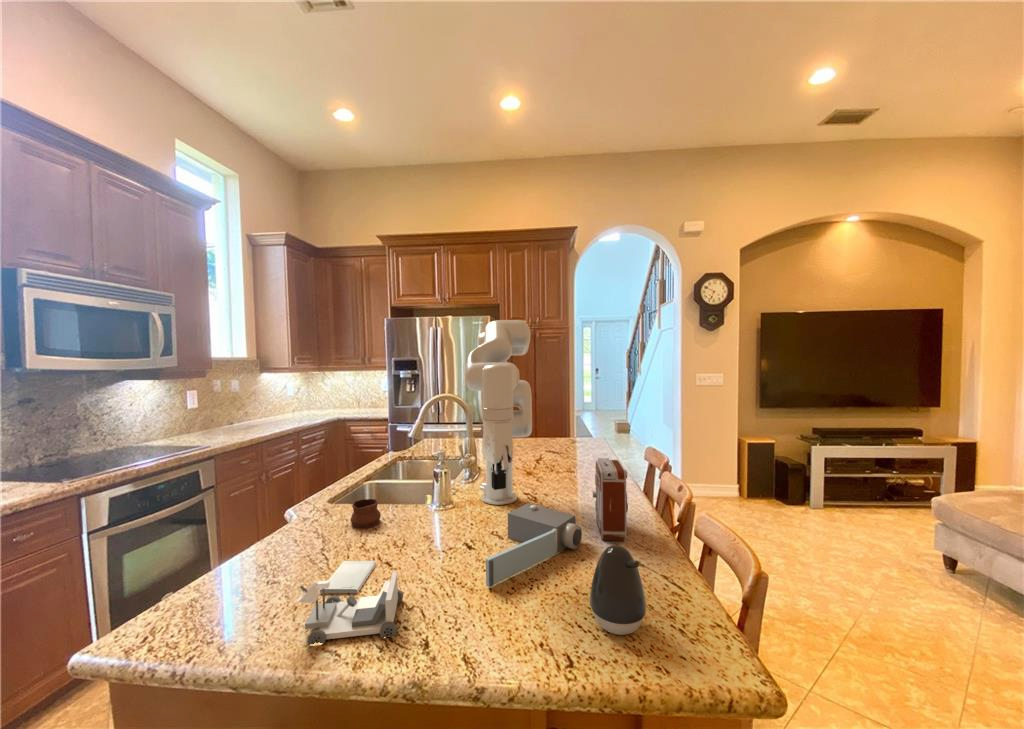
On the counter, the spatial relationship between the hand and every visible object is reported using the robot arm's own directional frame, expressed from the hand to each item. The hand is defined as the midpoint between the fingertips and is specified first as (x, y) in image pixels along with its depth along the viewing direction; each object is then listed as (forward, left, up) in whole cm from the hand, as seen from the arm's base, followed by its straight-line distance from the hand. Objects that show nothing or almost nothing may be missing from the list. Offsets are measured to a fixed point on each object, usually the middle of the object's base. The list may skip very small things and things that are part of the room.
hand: (498, 487), depth 102 cm
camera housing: (+3, +17, -18) cm, 25 cm away
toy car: (-8, -35, -19) cm, 41 cm away
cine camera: (+13, +35, -19) cm, 42 cm away
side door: (+8, 0, -18) cm, 20 cm away
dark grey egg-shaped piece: (+33, -5, -19) cm, 39 cm away
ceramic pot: (-48, -6, -19) cm, 52 cm away
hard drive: (-23, -27, -19) cm, 40 cm away
